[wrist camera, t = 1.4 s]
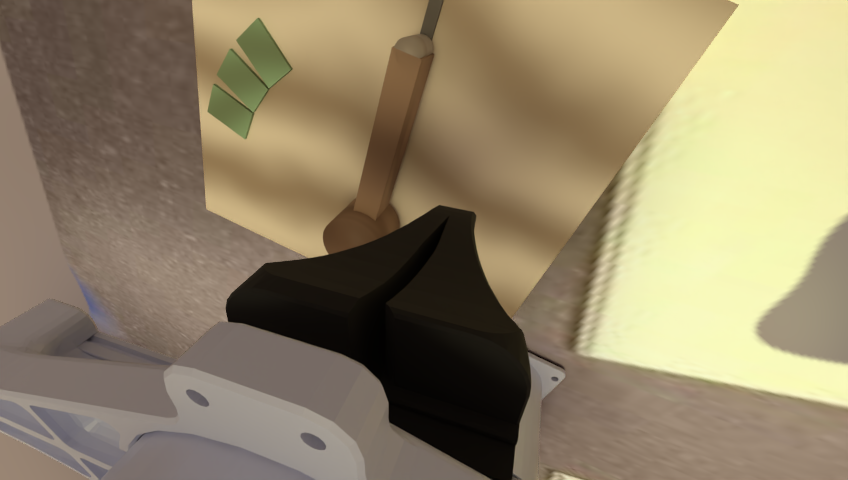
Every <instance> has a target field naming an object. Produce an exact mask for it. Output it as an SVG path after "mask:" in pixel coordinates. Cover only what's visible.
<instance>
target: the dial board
mask: <svg viewBox="0 0 848 480" xmlns="http://www.w3.org/2000/svg"><path fill="white" fill-rule="evenodd" d="M192 6H193V20H194V35H195V50H196V64H197V79H198V94H199V108H200V123H201V137H202V152H203V167H204V181H205V196H206V209H207V210H209V211H211V212H214V213H216V214H218V215H220V216H222V217H224V218H226V219H228V220H230V221H232V222H234V223H237V224H239V225H241V226H243V227H245V228H247V229H249V230H251V231H253V232H255V233H258V234H260V235H262V236H264V237H266V238H268V239H270V240H272V241H274V242H276V243H278V244H281V245H283V246H285V247H287V248H289V249H291V250H293V251H295V252H297V253H299V254H302V255H304V256H306V257H308V258H313V257H318V256H323V255H328V252H327V251H326V249H325V246H324V243H323V232H324V229H325V227H326V226H327V225H328V224H329V223H330V222H331V221H332V220H333V219H334V218H335V217H336V216H337V215H338V214H339V213H340V212H341V211H342V210H343V209H345V208H346V207H347V206H348V205H349V204H350V203H351V202H352V201H353V200H354V199H355V198H356V197H357V193H358V188H359V184H360V180H361V176H362V172H363V167H364V163H365V159H366V155H367V150H368V146H369V142H370V138H371V133H372V129H373V125H374V121H375V116H376V112H377V108H378V104H379V99H380V95H381V91H382V87H383V82H384V78H385V74H386V70H387V65H388V61H389V57H390V53H391V49H392V47H393V46H395V44H396V42H397V41H398V40H399V39H401V38H403V37H407V36H412V35H416V34H424V35H427V36H428V37H429V38H430V39H431V41H432V44H433V54H434V58H433V61H432V64H431V68H430V71H429V74H428V77H427V81H426V84H425V87H424V90H423V94H422V97H421V100H420V104H419V107H418V110H417V113H416V117H415V120H414V123H413V126H412V130H411V133H410V136H409V140H408V143H407V146H406V149H405V153H404V156H403V159H402V163H401V166H400V169H399V172H398V176H397V179H396V182H395V185H394V189H393V192H392V195H391V199H390V202H389V204H390V205H391V206H392V207H393V208H394V210H395V211H396V213H397V215H398V218H399V222H400V228H401V227H403V226H405V225H407V224H409V223H410V222H412V221H414V220H415V219H417V218H419V217H420V216H422V215H423V214H425V213H427V212H428V211H430V210H431V209H433V208H435V207H436V206H438V205H442V206H447V207H452V208H457V209H462V210H467V211H472V212H474V213H475V214H476V222H475V228H474V235H475V242H476V248H477V252H478V256H479V260H480V263H481V266H482V269H483V271H484V274H485V276H486V279H487V281H488V283H489V285H490V287H491V289H492V291H493V292H494V294H495V296H496V298H497V299H498V301H499V303H500V304H501V306H502V307H503V309H504V310H505V312H506V313H507V314H508V316H509V317H510V318H512V317H513V315H514V314H515V313H516V311H517V310H518V309H519V307H520V306H521V304H522V303H523V302H524V300H525V299H526V298H527V296H528V295H529V293H530V292H531V291H532V289H533V288H534V286H535V285H536V284H537V282H538V281H539V280H540V278H541V277H542V275H543V274H544V273H545V271H546V270H547V269H548V267H549V266H550V264H551V263H552V262H553V260H554V259H555V258H556V256H557V255H558V253H559V252H560V251H561V249H562V248H563V247H564V245H565V244H566V242H567V241H568V240H569V238H570V237H571V235H572V234H573V233H574V231H575V230H576V229H577V227H578V226H579V224H580V223H581V222H582V220H583V219H584V218H585V216H586V215H587V213H588V212H589V211H590V209H591V208H592V207H593V205H594V204H595V202H596V201H597V200H598V198H599V197H600V195H601V194H602V193H603V191H604V190H605V189H606V187H607V186H608V184H609V183H610V182H611V180H612V179H613V178H614V176H615V175H616V173H617V172H618V171H619V169H620V168H621V167H622V165H623V164H624V162H625V161H626V160H627V158H628V157H629V155H630V154H631V153H632V151H633V150H634V149H635V147H636V146H637V144H638V143H639V142H640V140H641V139H642V138H643V136H644V135H645V133H646V132H647V131H648V129H649V128H650V127H651V125H652V124H653V122H654V121H655V120H656V118H657V117H658V116H659V114H660V113H661V111H662V110H663V109H664V107H665V106H666V104H667V103H668V102H669V100H670V99H671V98H672V96H673V95H674V93H675V92H676V91H677V89H678V88H679V87H680V85H681V84H682V82H683V81H684V80H685V78H686V77H687V76H688V74H689V73H690V71H691V70H692V69H693V67H694V66H695V64H696V63H697V62H698V60H699V59H700V58H701V56H702V55H703V53H704V52H705V51H706V49H707V48H708V47H709V45H710V44H711V42H712V41H713V40H714V38H715V37H716V36H717V34H718V33H719V31H720V30H721V29H722V27H723V26H724V25H725V23H726V22H727V20H728V19H729V18H730V16H731V15H732V13H733V12H734V11H735V9H736V8H737V7H738V4H736V3H733V2H730V1H728V0H192Z"/></svg>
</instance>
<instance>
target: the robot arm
mask: <svg viewBox="0 0 848 480" xmlns="http://www.w3.org/2000/svg"><path fill="white" fill-rule="evenodd" d="M475 222H476V214H475V213H474V212H472V211H467V210H462V209H457V208H452V207H447V206H442V205H438V206H436V207H435V208H433V209H431V210H430V211H428V212H427V213H425V214H423V215H422V216H420V217H419V218H417V219H415V220H414V221H412V222H410V223H409V224H407V225H405V226H403V227H401V228H399V229H397V230H395V231H393V232H391V233H389V234H388V235H385V236H383V237H381V238H379V239H376V240H374V241H371V242H369V243H366V244H363V245H360V246H357V247H354V248H350V249H347V250H343V251H340V252H336V253H332V254H328V255H323V256H318V257H313V258H307V259H300V260H292V261H283V262H273V263H265V264H264V265H263V266H262V267H261V268H260V269H258V270H257V271H256V272H255V273H254V274H253V275H252V276H251V277H249V278H248V279H247V280H246V281H245V282H244V283H243V284H241V285H240V286H239V287H238V288H237V289H236V290H235V291H234V292H232V294H231V295H230V296H229V298H228V299H227V304H226V313H227V318H228V322H218V323H217V324H215V325H214V326H213V327H212V328H210V329H209V330H208V331H207V332H206V333H205V334H204V335H203V336H201V337H200V338H199V339H198V340H197V341H196V342H195V343H194V344H193V345H192V346H191V347H190V348H189V349H188V350H186V351H185V352H184V353H183V354H182V355H181V356H180V357H179V358H178V359H175V358H173V357H170V356H167V355H164V354H161V353H158V352H155V351H153V350H150V349H147V348H144V347H141V346H138V345H136V344H133V343H130V342H127V341H124V340H121V339H119V338H116V337H113V336H110V335H107V334H104V333H101V332H99V331H98V328H97V326H96V324H95V323H94V321H93V319H92V318H91V317H90V316H89V315H88V314H87V313H86V312H84V311H83V310H82V309H80V308H78V307H75V306H72V305H69V304H66V303H63V302H60V301H57V300H54V299H47V300H45V301H44V302H42V303H41V304H38V305H37V306H35V307H33V308H31V309H30V310H28V311H26V312H25V313H23V314H21V315H19V316H18V317H16V318H14V319H12V320H11V321H9V322H7V323H5V324H4V325H2V326H0V432H1V433H4V434H5V435H8V436H10V437H12V438H14V439H16V440H18V441H20V442H22V443H24V444H26V445H28V446H30V447H32V448H34V449H35V450H38V451H39V452H41V453H43V454H45V455H47V456H49V457H51V458H52V459H54V460H56V461H58V462H60V463H61V464H63V465H65V466H67V467H69V468H70V469H72V470H74V471H76V472H78V473H79V474H81V475H83V476H85V477H86V478H88V479H90V480H538V467H539V444H540V422H541V400H542V399H543V398H544V397H546V396H547V395H548V394H549V393H550V392H551V391H552V390H553V389H554V388H555V387H556V386H557V385H558V384H559V383H560V382H561V381H562V380H563V379H564V378H565V370H564V369H562V368H560V367H558V366H556V365H554V364H552V363H550V362H548V361H546V360H544V359H541V358H539V357H537V356H535V355H533V354H531V353H529V352H528V350H527V346H526V342H525V338H524V334H523V332H522V330H521V329H520V328H519V327H518V326H517V325H516V324H515V322H514V321H513V320H512V319H511V318H510V317H509V316H508V314H507V313H506V312H505V310H504V309H503V307H502V306H501V304H500V303H499V301H498V299H497V298H496V296H495V294H494V292H493V291H492V289H491V287H490V285H489V283H488V281H487V279H486V276H485V274H484V271H483V269H482V266H481V263H480V260H479V256H478V252H477V248H476V242H475V235H474V228H475Z"/></svg>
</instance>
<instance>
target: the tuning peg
mask: <svg viewBox="0 0 848 480" xmlns="http://www.w3.org/2000/svg"><path fill="white" fill-rule="evenodd" d="M433 58H434V54H433V44H432V41H431V39H430V38H429V37H428V36H427V35H424V34H416V35H412V36H407V37H403V38H401V39H399V40H398V41H397V42H396V44H395V46H393V47H392V49H391V53H390V57H389V61H388V65H387V70H386V74H385V78H384V82H383V87H382V91H381V95H380V99H379V104H378V108H377V112H376V116H375V121H374V125H373V129H372V133H371V138H370V142H369V146H368V150H367V155H366V159H365V163H364V167H363V172H362V176H361V180H360V184H359V188H358V193H357V197H356V198H355V199H354V200H353V201H352V202H351V203H350V204H349V205H348V206H347V207H346V208H345V209H343V210H342V211H341V212H340V213H339V214H338V215H337V216H336V217H335V218H334V219H333V220H332V221H331V222H330V223H329V224H328V225H327V226H326V227H325V229H324V232H323V243H324V246H325V249H326V251H327V252H328V254H332V253H336V252H340V251H343V250H347V249H350V248H354V247H357V246H360V245H363V244H366V243H369V242H371V241H374V240H376V239H379V238H381V237H383V236H385V235H388V234H389V233H391V232H393V231H395V230H397V229H399V228H400V222H399V218H398V215H397V213H396V211H395V210H394V208H393V207H392V206H391V205H390V204H389V202H390V199H391V195H392V192H393V189H394V185H395V182H396V179H397V176H398V172H399V169H400V166H401V163H402V159H403V156H404V153H405V149H406V146H407V143H408V140H409V136H410V133H411V130H412V126H413V123H414V120H415V117H416V113H417V110H418V107H419V104H420V100H421V97H422V94H423V90H424V87H425V84H426V81H427V77H428V74H429V71H430V68H431V64H432V61H433Z"/></svg>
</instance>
